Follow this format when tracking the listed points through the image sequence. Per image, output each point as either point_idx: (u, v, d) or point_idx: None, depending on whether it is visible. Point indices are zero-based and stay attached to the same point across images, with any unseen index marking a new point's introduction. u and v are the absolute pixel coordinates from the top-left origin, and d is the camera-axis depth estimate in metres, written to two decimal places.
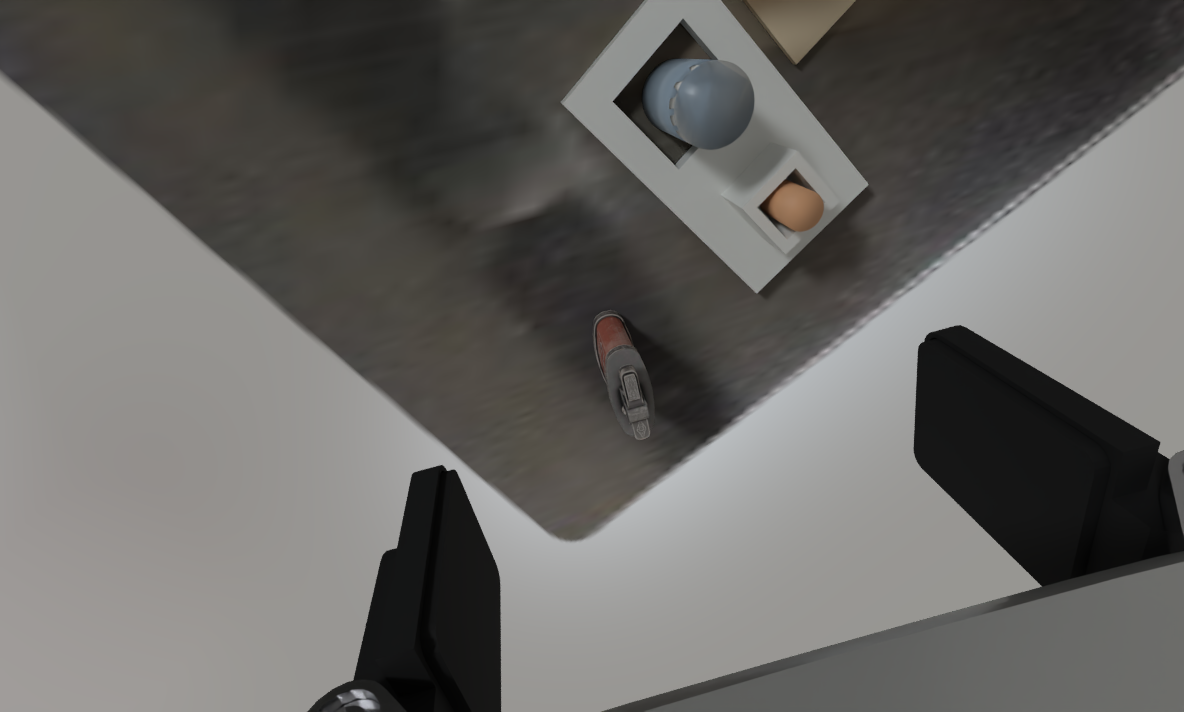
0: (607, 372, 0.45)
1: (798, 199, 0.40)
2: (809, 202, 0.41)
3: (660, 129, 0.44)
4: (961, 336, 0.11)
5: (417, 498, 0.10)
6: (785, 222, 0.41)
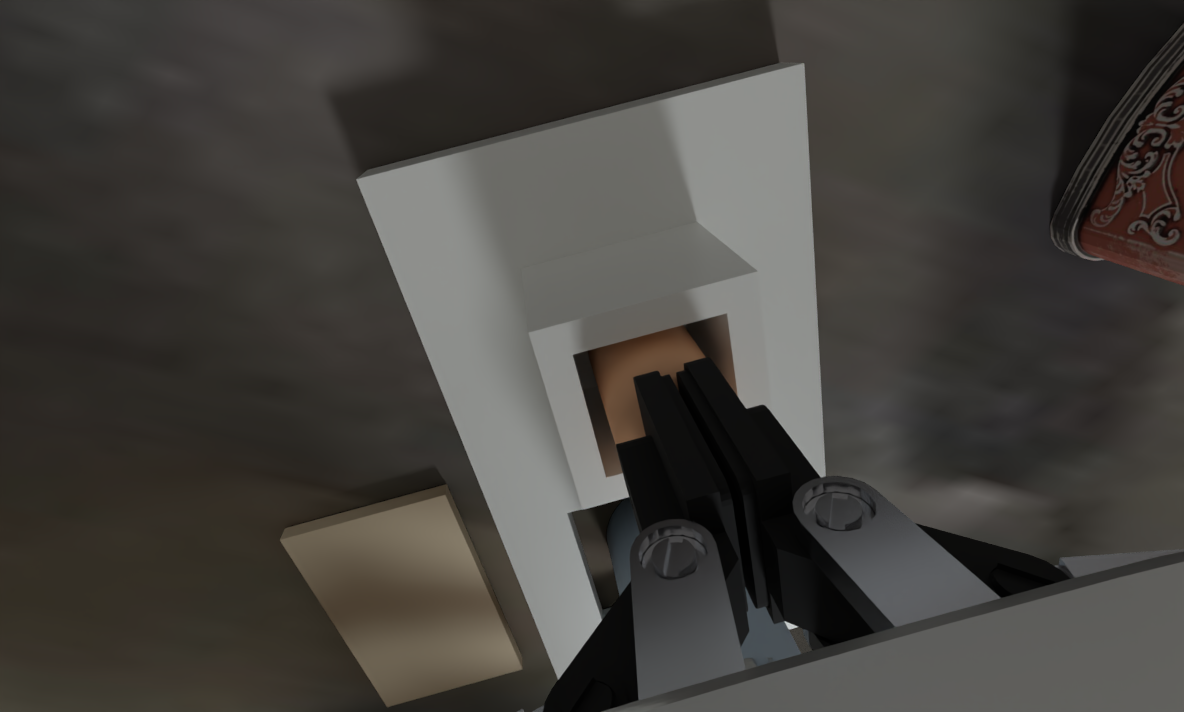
0: None
1: None
2: None
3: None
4: (703, 368, 0.12)
5: (651, 393, 0.11)
6: None
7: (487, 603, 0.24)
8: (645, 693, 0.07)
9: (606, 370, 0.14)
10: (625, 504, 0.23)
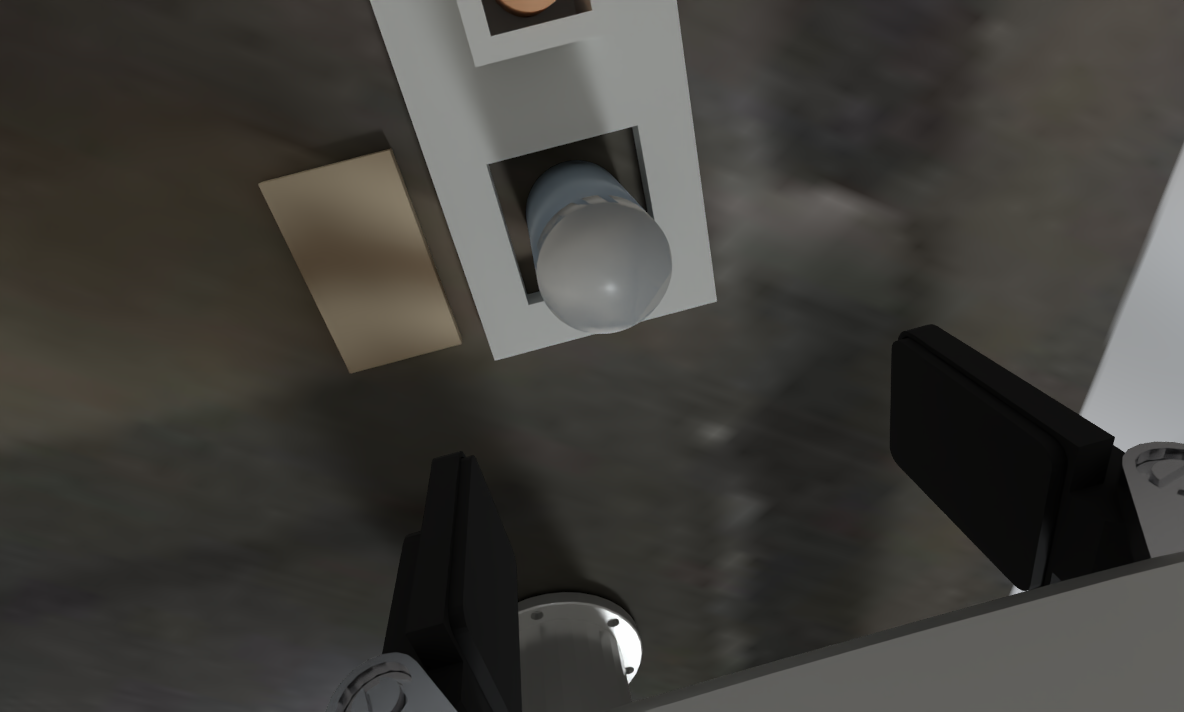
0: None
1: None
2: None
3: None
4: (932, 335, 0.11)
5: (439, 482, 0.10)
6: None
7: (428, 268, 0.29)
8: None
9: None
10: (538, 179, 0.28)
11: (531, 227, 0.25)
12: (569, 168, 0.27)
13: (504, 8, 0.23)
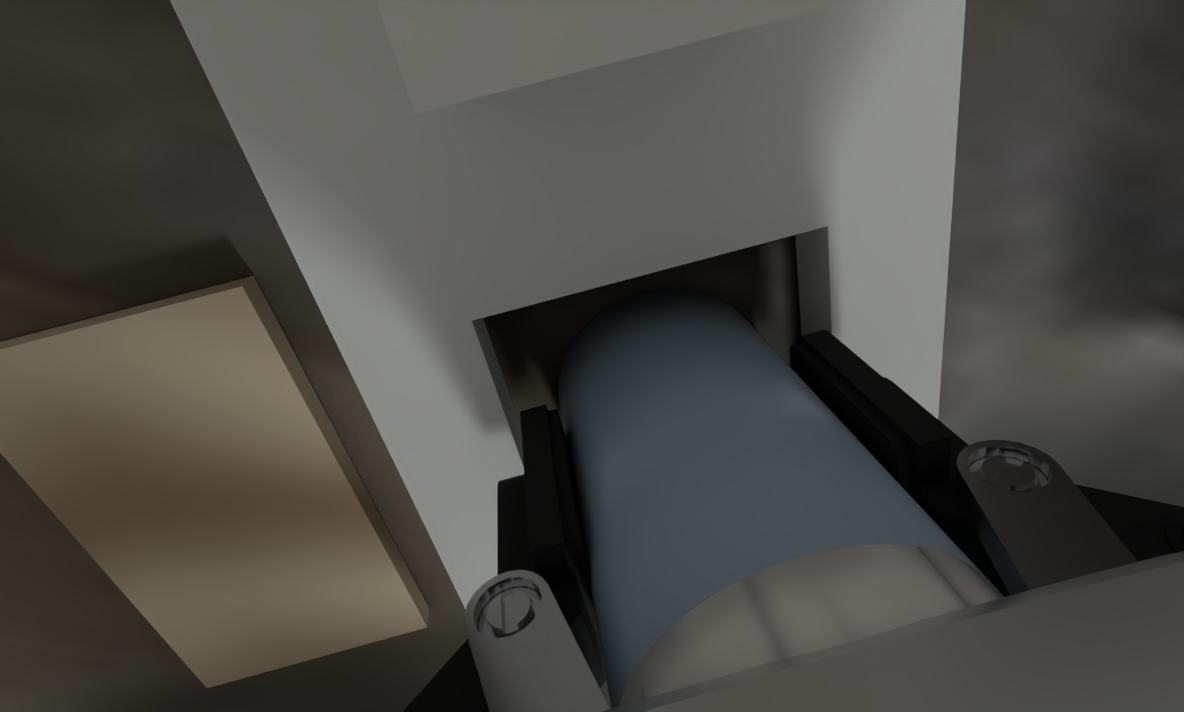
0: None
1: None
2: None
3: None
4: (821, 339, 0.11)
5: (531, 430, 0.11)
6: None
7: (353, 510, 0.14)
8: None
9: None
10: (587, 330, 0.13)
11: (585, 507, 0.10)
12: (666, 325, 0.12)
13: None
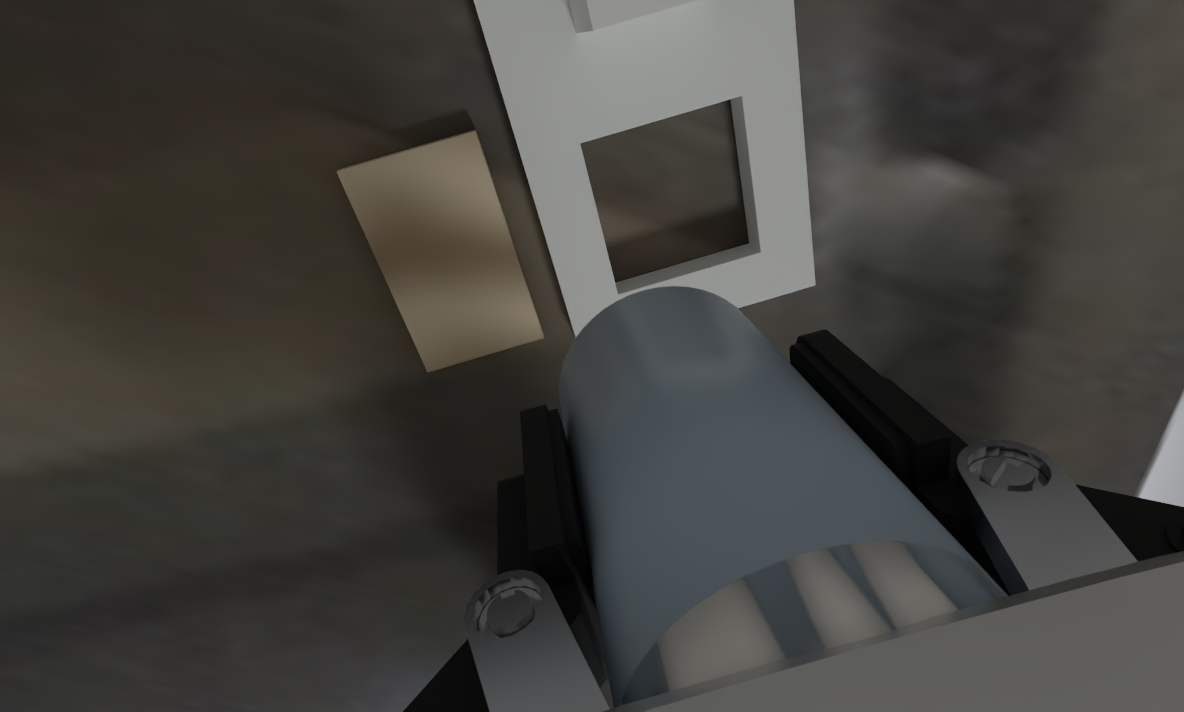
0: None
1: None
2: None
3: None
4: (822, 339, 0.11)
5: (531, 430, 0.11)
6: None
7: (512, 258, 0.27)
8: None
9: None
10: (588, 329, 0.13)
11: (587, 505, 0.10)
12: (667, 323, 0.11)
13: None
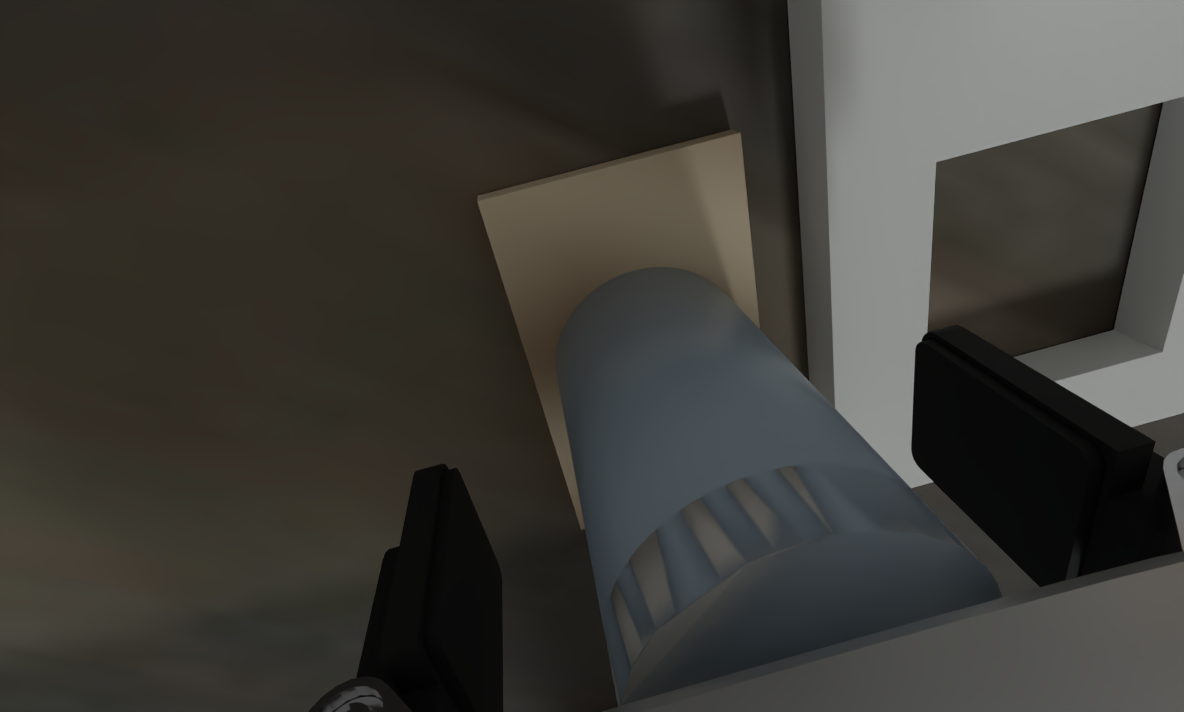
0: None
1: None
2: None
3: None
4: (958, 336, 0.11)
5: (419, 496, 0.10)
6: None
7: None
8: None
9: None
10: (582, 306, 0.14)
11: (580, 455, 0.11)
12: (653, 298, 0.13)
13: None
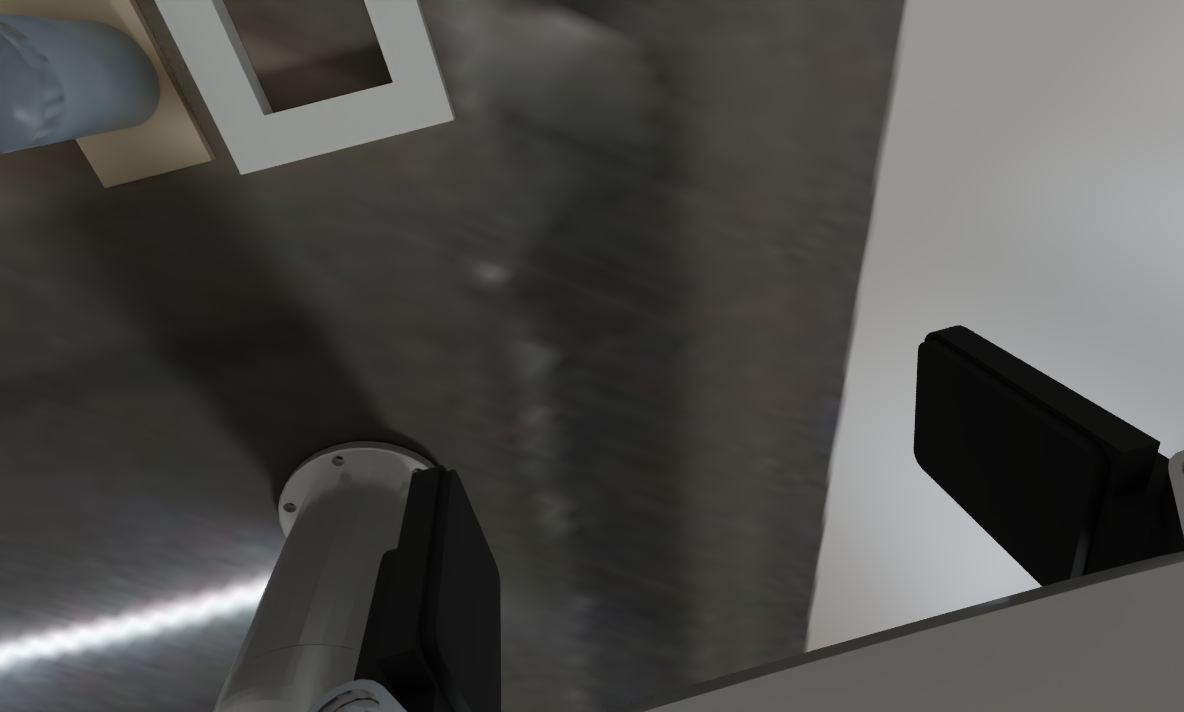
0: None
1: None
2: None
3: (134, 53, 0.29)
4: (961, 336, 0.11)
5: (417, 498, 0.10)
6: None
7: (164, 77, 0.31)
8: None
9: None
10: None
11: None
12: None
13: None
